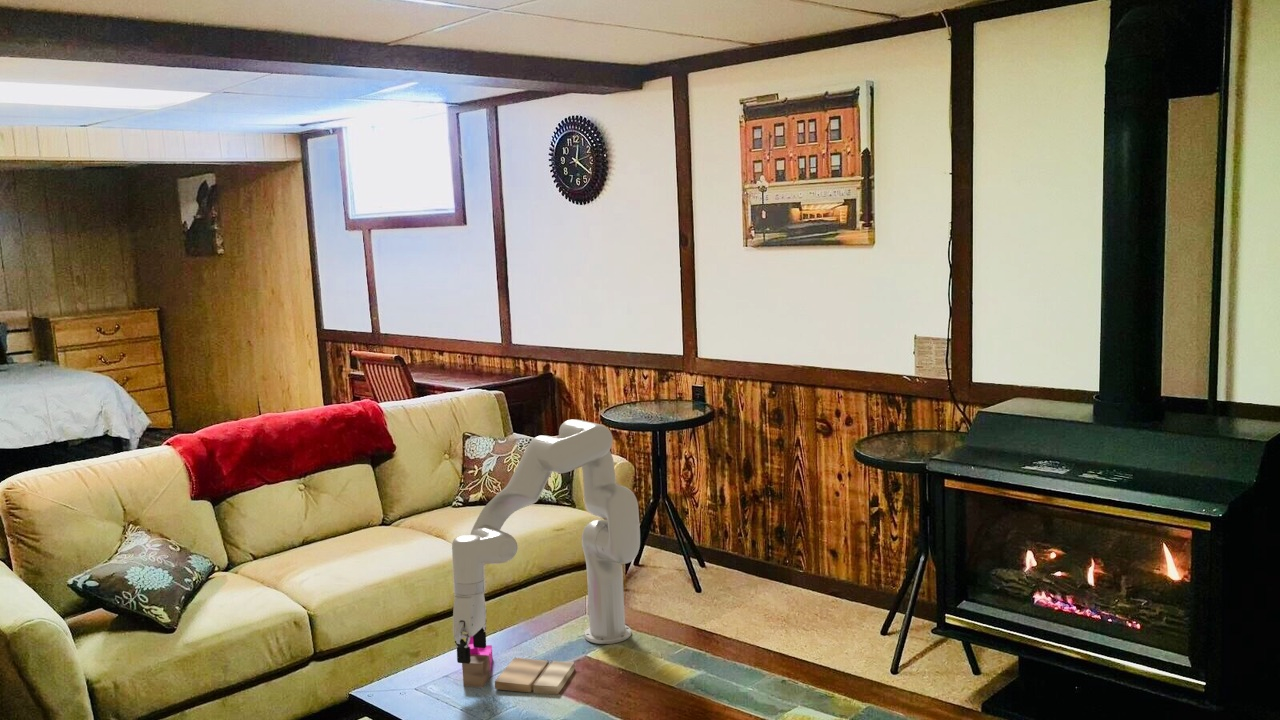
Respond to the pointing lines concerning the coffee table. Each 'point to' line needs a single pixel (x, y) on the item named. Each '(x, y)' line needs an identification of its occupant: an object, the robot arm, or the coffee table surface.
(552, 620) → the coffee table surface
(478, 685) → the walnut block
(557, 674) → the laid board
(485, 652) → the toy block
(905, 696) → the coffee table surface
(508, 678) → the plank
